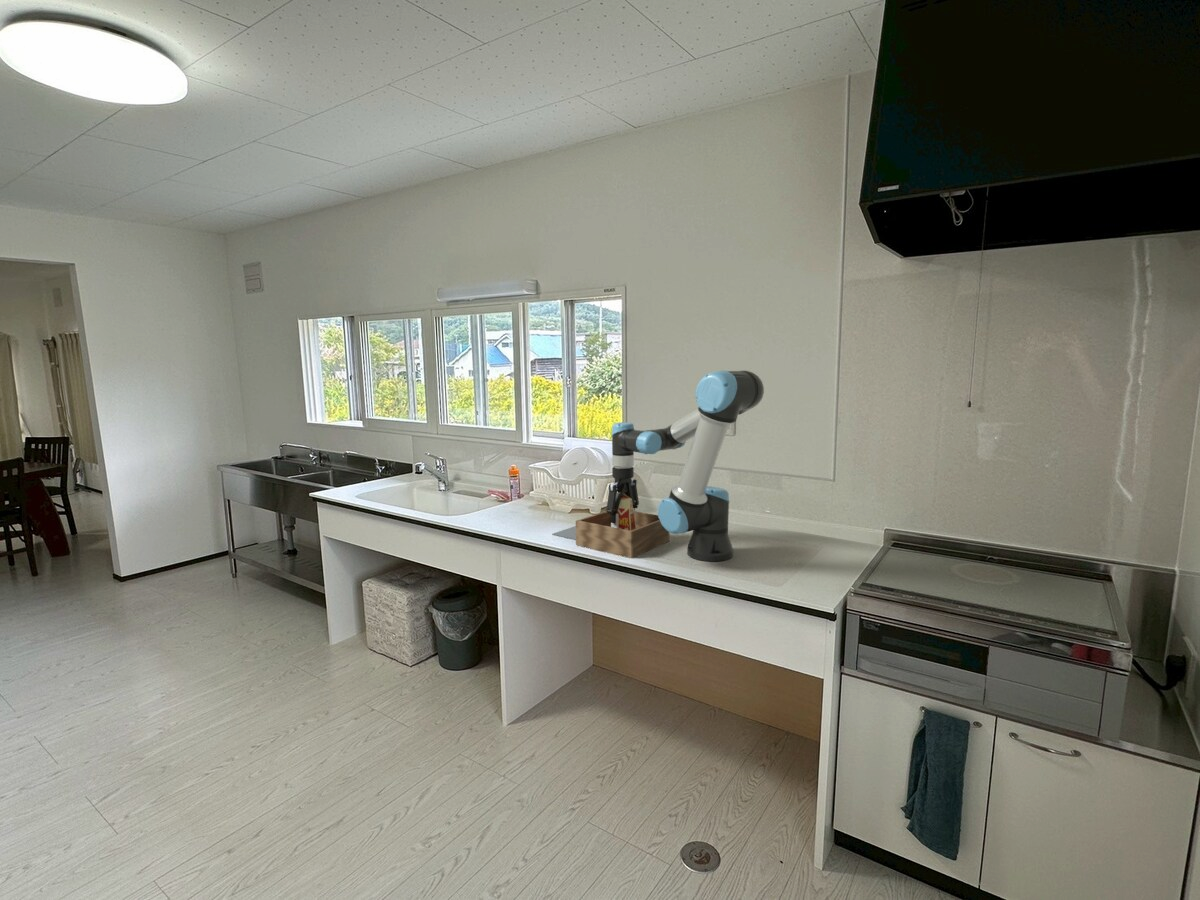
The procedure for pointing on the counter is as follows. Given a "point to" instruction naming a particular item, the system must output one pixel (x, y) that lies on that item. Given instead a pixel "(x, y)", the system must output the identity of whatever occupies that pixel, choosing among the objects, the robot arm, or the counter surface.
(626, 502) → the milk carton
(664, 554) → the counter surface
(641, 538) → the walnut surround
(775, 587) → the counter surface
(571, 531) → the slate mat
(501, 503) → the counter surface
